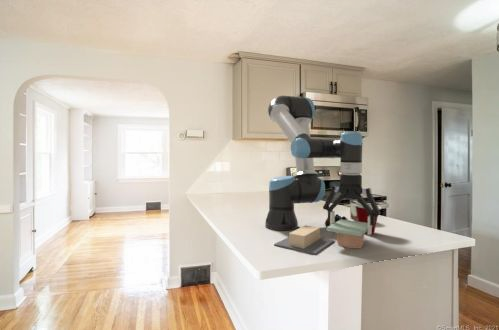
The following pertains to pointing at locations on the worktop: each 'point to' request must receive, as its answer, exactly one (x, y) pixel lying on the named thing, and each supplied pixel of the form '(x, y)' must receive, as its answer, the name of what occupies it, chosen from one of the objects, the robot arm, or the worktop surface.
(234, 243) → the worktop surface
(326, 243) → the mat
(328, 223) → the pastry
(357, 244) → the bowl
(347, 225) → the sheet
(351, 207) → the food container
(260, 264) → the worktop surface
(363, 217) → the plastic cup
